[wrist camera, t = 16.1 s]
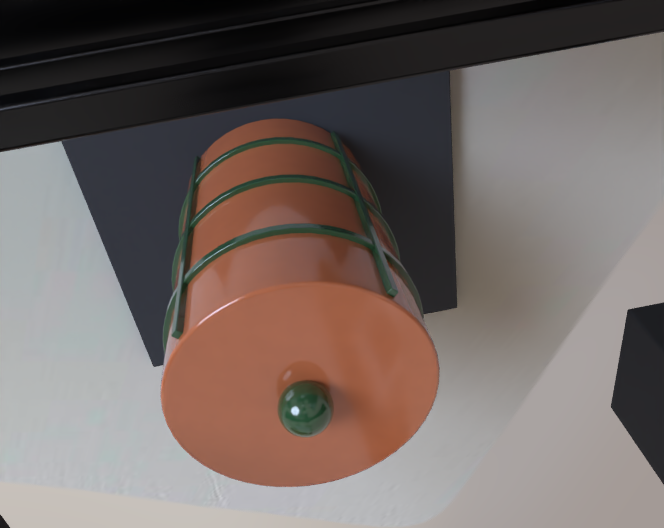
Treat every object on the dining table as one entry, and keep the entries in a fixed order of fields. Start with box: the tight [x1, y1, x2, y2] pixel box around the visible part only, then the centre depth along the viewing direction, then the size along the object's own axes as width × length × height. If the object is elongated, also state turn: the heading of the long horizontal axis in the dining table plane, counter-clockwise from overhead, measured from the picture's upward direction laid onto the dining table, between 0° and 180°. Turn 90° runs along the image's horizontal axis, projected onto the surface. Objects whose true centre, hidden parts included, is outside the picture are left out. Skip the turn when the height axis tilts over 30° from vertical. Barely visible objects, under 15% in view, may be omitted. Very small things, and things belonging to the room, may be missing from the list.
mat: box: [62, 71, 457, 367], centre depth 21 cm, size 12×12×1 cm
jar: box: [160, 119, 440, 487], centre depth 17 cm, size 6×6×10 cm
